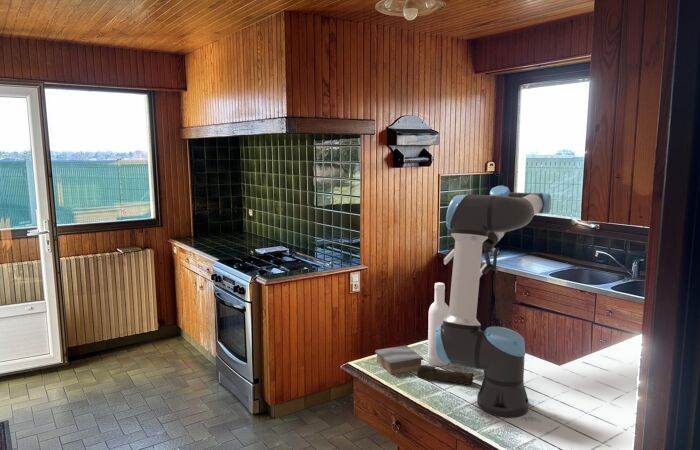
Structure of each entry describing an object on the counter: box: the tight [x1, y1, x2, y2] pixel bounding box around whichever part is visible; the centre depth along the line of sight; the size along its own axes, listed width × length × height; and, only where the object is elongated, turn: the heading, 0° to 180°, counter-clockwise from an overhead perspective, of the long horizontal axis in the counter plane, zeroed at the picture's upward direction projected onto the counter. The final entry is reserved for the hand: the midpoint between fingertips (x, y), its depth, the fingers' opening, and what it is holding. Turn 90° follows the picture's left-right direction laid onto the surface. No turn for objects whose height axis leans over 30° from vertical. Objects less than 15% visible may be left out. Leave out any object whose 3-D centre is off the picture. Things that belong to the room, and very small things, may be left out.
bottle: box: [427, 282, 450, 367], centre depth 186 cm, size 8×8×30 cm
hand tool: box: [416, 364, 474, 387], centre depth 173 cm, size 19×4×5 cm, turn 68°
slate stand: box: [374, 345, 424, 375], centre depth 185 cm, size 13×13×4 cm
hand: (460, 269), depth 187 cm, fingers open, 13 cm apart
